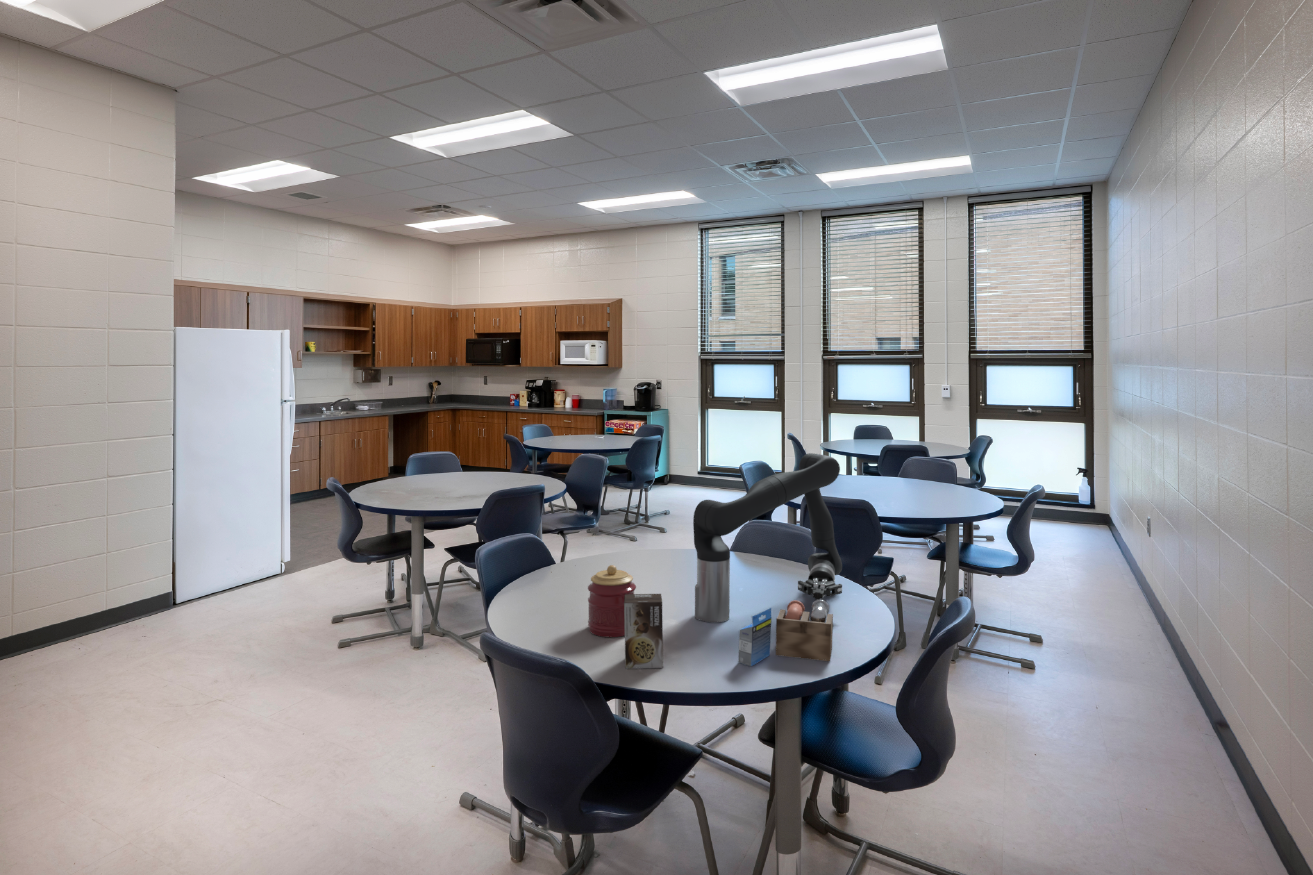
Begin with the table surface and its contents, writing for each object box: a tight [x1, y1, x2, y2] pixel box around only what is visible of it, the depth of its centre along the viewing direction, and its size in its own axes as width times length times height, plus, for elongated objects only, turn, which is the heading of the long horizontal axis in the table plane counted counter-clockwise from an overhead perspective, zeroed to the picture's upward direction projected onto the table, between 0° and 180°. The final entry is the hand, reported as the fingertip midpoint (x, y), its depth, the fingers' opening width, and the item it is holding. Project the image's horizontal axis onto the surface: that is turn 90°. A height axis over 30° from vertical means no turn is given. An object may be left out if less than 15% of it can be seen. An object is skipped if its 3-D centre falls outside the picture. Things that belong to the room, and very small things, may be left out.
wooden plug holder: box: [775, 609, 834, 662], centre depth 178 cm, size 13×8×9 cm, turn 73°
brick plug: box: [785, 599, 806, 620], centre depth 182 cm, size 4×10×4 cm, turn 163°
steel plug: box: [810, 599, 830, 623], centre depth 183 cm, size 4×10×4 cm, turn 163°
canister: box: [587, 564, 637, 638], centre depth 193 cm, size 13×13×18 cm
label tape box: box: [737, 607, 772, 667], centre depth 173 cm, size 9×4×12 cm, turn 141°
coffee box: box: [624, 593, 664, 670], centre depth 171 cm, size 9×6×16 cm
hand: (817, 596), depth 196 cm, fingers closed
